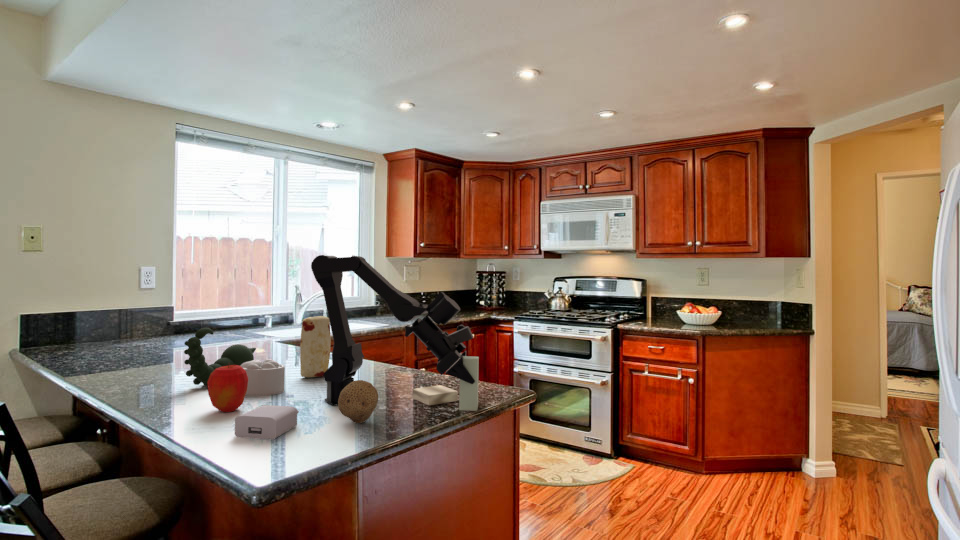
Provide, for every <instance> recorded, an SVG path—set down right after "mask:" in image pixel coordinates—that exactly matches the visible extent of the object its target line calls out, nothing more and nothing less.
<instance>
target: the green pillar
mask: <svg viewBox="0 0 960 540" xmlns="http://www.w3.org/2000/svg"><path fill="white" fill-rule="evenodd" d="M461 357H462V356H461ZM479 359H480V357H479V356H473V355H472V356H468V355H466V356H463V363H464V365H465V367H466V368H467V370H468V371H469V373H470V374H471V375H472V377H473V378H474V380H475V382H474V383H473V384H470V383H468V382H465V381H463V380H461V379H459V391H458V395H459V397H458V398H459V400H458V401H459V403H458V405H459V407H458V410H459V411H464V412H465V411H468V412H469V411H470V412H471V411H472V412H473V411H474V412H477V411H478V409H479V408H478V407H479V367H480V366H479V364H480V363H479Z"/></svg>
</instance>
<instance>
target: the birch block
mask: <svg viewBox="0 0 960 540" xmlns="http://www.w3.org/2000/svg"><path fill="white" fill-rule="evenodd" d="M458 395H459V391H458V390H456V389H453V388H449V387H447V386H444V385H441V384H438V385H432V386H425V387H417V388H413V389H412V399H413V400H415V401H418V402H420V403H422V404H424V405H426V406H434V405H440V404H447V403H451V402H458V401H459V400H458V398H459V397H458Z"/></svg>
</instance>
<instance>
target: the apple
mask: <svg viewBox="0 0 960 540" xmlns="http://www.w3.org/2000/svg"><path fill="white" fill-rule="evenodd" d="M229 364H230V363H229ZM207 384H208V386H207V392H208V393H207V395H208V397H209V399H210V401H211V405H212V406H213V407H214V408H216V409H217V410H219V411H220V412H221V413H231V412H235V411H237V410H238V409H239V408H240V407H241V406H242V405H243V403H244V400H245V398H246V396H247V395H246V392H247V387H248V376H247V372H246V371H245V370H244V369H243V368H242V367H241V366H239V365H228V366H223V367H219V368H216V369H215V370H214V371H213V372H212V373H211V374H210V377H209V379H208V382H207Z"/></svg>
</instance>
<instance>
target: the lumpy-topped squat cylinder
mask: <svg viewBox="0 0 960 540" xmlns="http://www.w3.org/2000/svg"><path fill="white" fill-rule="evenodd" d="M240 366H241V367H242V368H243V369H244V370H245V371H246V372H247V376H248V387H247V392H246V395H245V396H271V395H278V394H282V393H284V392H285V378H286V377H285V372H286V371H285V369H286V367H285V365H284V364H280V363H279V362H278V361H276V360H273V359H271V358H267V359H265V360H264V361H261V360H259V359H254V360H252V361H250V362H245V363H243V364H241V365H240Z"/></svg>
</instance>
